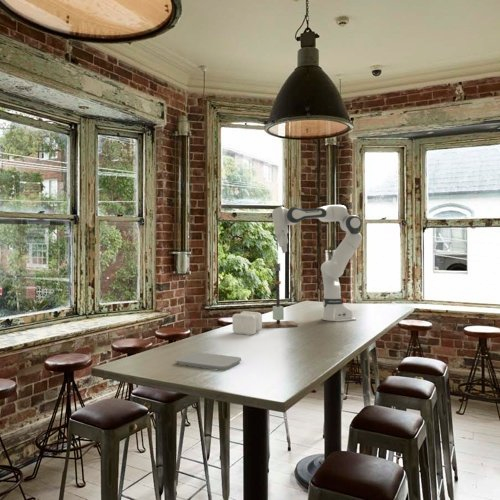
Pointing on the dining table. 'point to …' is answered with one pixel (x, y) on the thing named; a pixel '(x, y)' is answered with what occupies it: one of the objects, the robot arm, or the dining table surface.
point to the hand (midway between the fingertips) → (285, 252)
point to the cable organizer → (247, 322)
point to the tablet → (209, 361)
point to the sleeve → (278, 313)
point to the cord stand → (278, 323)
